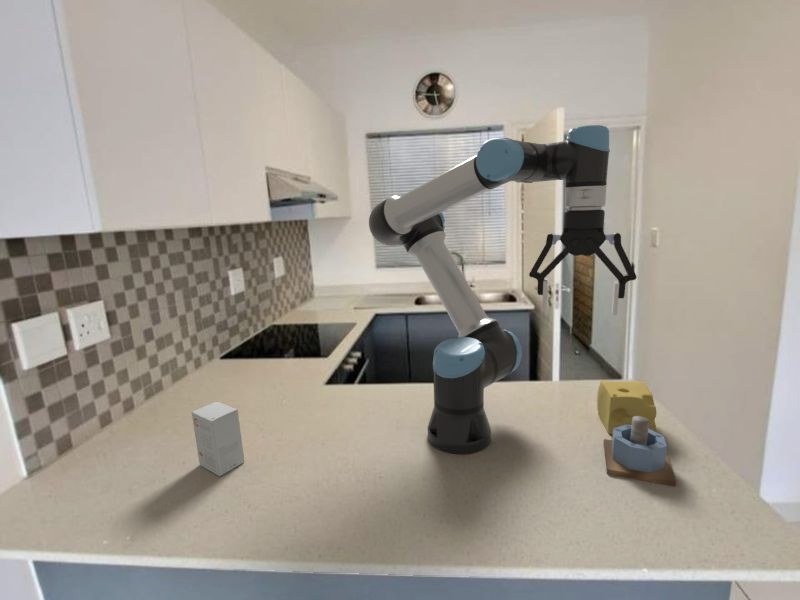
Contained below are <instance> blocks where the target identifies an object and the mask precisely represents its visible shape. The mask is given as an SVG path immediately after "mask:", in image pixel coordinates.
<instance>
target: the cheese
mask: <svg viewBox="0 0 800 600" xmlns="http://www.w3.org/2000/svg"><path fill="white" fill-rule="evenodd" d="M596 407H597V415H598V417H599V419H600V421H601V423H602V424H603V425H604V427H605V429H606V431H607V433H608V435H613V428H616V427H620V426H623V425H632V418H633V417H634V416H641V417H645V418H647V419H648V420H649V427H648V428H649V429H651V430H652V431H654V432H656V433H657V424H656V419H655V418H656V417H657V407H656V405H655V400H654V395H653V394H652V391H650V389H649V388H648V385H647V384H646V383H645V382H643V381H642V380H641V381H639V380H637V381H614V380H613V381H611V380H610V381H609V380H600V383H599V385H598V389H597V397H596Z"/></svg>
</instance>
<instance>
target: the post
mask: <svg viewBox="0 0 800 600" xmlns="http://www.w3.org/2000/svg"><path fill="white" fill-rule="evenodd" d="M648 427H649V420H648V419H647V418H645V417H641V416H634V417H633V418H632V428H631V439H630V442H632V443H633V444H639V445H645V446H647V437H648ZM603 450H604V459H605V467H606V469H605V470H606V474H608V475H613V476H619V477H624V478H630V479H636V480H641V481H646V482H651V483H656V484H657V483H658V484H661V485H662V484H663V485H667V486H674V487H676V486H677V485H676V484H677V479H676V477H675V473H674V471H673V469H672V466H671V462H670V460H669V458H668V454H667V453H666V458H665V466H664V468H663V469H660V470H657V471H655V472H652V473H648V472H643V471H637V470H631V469H628V468H626V467H625V466H623V465H622V464H620V463H618V462H617V461H615V460H614V459H613V457H612V439H606V438H605V439H603Z"/></svg>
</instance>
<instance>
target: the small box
mask: <svg viewBox="0 0 800 600" xmlns="http://www.w3.org/2000/svg"><path fill="white" fill-rule="evenodd" d="M191 417H192V423H193V424H192V425H193V430H194V437H195V443H196V451H197V456H198V463H199V466H201V467H203V468H204V469H206V470H207V471H209V472H212V473H213V474H215V475H216V476H217V477H221V476H223V475H225V474H226V473H228V472H230V471H232V470H233V469H235V468H237V467H238V466H240V465H242V464H243V463H245V455H244V449H243V441H242V433H241V425H240V419H239V410H238V409H237V408H235V407H232V406H229V405H227V404H224V403H222V402H220V401H215V402H211V403H210V404H208V405H205V406H202V407H200V408H197V409H195V410H193V411H191Z"/></svg>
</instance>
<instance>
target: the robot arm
mask: <svg viewBox="0 0 800 600" xmlns="http://www.w3.org/2000/svg"><path fill="white" fill-rule="evenodd" d="M610 152H611V151H610V130H609V128H608V127H607V126H606V125H602V124H601V125H600V124H595V125H594V124H593V125H581V126H577V127H573V128H571V129H569V131H568V132H567V137H566V140H563V141H559V142H550V143H536V142H529V141H523V140H522V141H521V140H517V139H513V138H509V137H499V138H497V137H496V138H491V139H488V140H486V141H485V142H484V143H483V144H482V146H481V147H479V149H478V151H477V154H476V155H474V156H472V157H470V158H468V159H467V160H465V161H463V162H462V163H459V164H458V165H456V166H454V167H452V168H450V169H449V170H447V171H445V172H443V173H441V174H439V175H437V176H436V177H434V178H432V179H430V180H428V181H426V182H425V183H423V184H421V185H418V187H415V188H413V189H412V190H410V191H408V192H406V193H404V194H402V195H401V196H398V195H392V196H391V197H389V198H385V200H383V201H381V202H380V203H378V204H376V205H375V206H374V207H373V209H372V210H371V212H370V214H369V218H368V227H369V231H370V232H371V235H372V236H373V238H374V239H375V240H376V241H378V242H379V243H381V244H383V245H385V246H389V247H391V246H392V247H394V246H403V247H404V249H405V251H406V253H407V254H408V256H409V257H411V258H412V257H413V258H416V259H417V260H418V263H419V265H420V266H421V268H422V270H423V272H424V273H425V275H426V277H427V279H428V280H429V282H430V284H431V286H432V288H433V289H434V291H435V293H436V295H437V297H438V298H439V300H440V301H441V304H442V306H443V307H444V309H445V310H446V312H447V314H448V316H449V318H450V319H451V321H452V323H453V325H454V326H455V328H456V331H457V332H458V337H457V338H454V337H452V338H448V339H446V340H445V339H444V340H443V341H442V342H440V343H438V344H437V346H436V347H435V348H434V351H433V360H432V369H433V370H432V372H433V373H432V374H433V376H432V377H433V378H432V379H433V404H434V405H433V409H432V413H431V415H430V418H429V421H428V424H427V439H428V441H429V443H430V444H431V445H432V446H433V447H434V448H435V449H438V450H440V451H442V452H446V453H451V454H458V455H460V454H462V455H463V454H465V455H466V454H473V453H476V452H479V451H482V450H484V449H485V448H487V447H488V446H489V444H490V443H491V441H492V429H491V426H490V423H489V419H488V416H487V413H486V410H485V408H484V406H485V405H484V403H485V401H484V398H485V393H484V392H485V388H487V387H489V386H490V385H493V384H494V383H496V382H497V381H499V380H501V379H505V378H506V377H508V376H510V374H512V372H514V371H515V370H516V369H518V367H519V366H520V363H521V361H522V354H523V352H522V350H523V349H522V345H521V343H520V341H519V338H518V337H517V336H516V335H515V334H514V333H513V332H512V331H510V330H509V331H508V330H507V329H505V328H502V327H501V325H500V324H499V322H498V320H497V319H496V318H491V317H489V316H488V315H487V314H486V312H485V310H484V308H483V307H482V305H481V304H480V302H479V300H478V298H477V296H476V294H475V293H474V291H473V289H472V288H471V285H470V284H469V283H468V281H467V279H466V278H465V276H464V274H463V272H462V271H461V269H460V268H459V266H458V263H456V260H455V259H454V257H453V255H452V254H451V252H450V250H449V248H448V247H447V245H446V243H445V239H446V232H445V227H446V225H445V223H446V220H445V216H444V214H443V212H446V211H447V210H450V209H452V208H454V207H457V206H458V205H461V204H463V203H465V202H467V201H470V200H472V199H473V198H476V197H478V196H480V195H482V194H484V193H486V192H489V191H491V190H494V189H496V188H498V187H500V186H502V185H505V184H507V183H509V182H516V183H519V184H520V183H523V184H533V183H537V182H550V181H563V180H565V185H564V187H565V188H564V208H567V209H566V210H565V212H563V227H562V233H561V234H554V233H552V232H549V233H548V234H547V235H546V240H545V245H544V247H543V249H542V250H541V252H540V254H539V256H538V258H537V259H536V261H535V263H534V265H533V266H532V268H531V269H530V271H529V274H528V275H529V277H530V278H533V279H535V280H537V295H538V296H542V307H541V311H542V312H547V309H548V288H549V287H548V286H549V285H548V282H549V279H548V278H547V276H548V275H549V274H550V273H551V272H552V271H553V270H554V269H555V268H556V267H557V266H558V265H559V264H560V263H561V262H562V261H563V259H565V258H566V257H567V256H568V255H569V254H570V255H572V256H574V257H576V256H586V257H587V256H588V257H591V256H592V255H594V254H595V255H596V256H597V257H598V258H599V260H600V261H601V262H602V264H604V266H606V267H607V269H608V270H609V271H610V272H611V274H612V275H613V276H614V277H615V278H616V279H617V280H614V281H613V291H612V305H611V313H612V316H618V307H619V306H618V304H619V299H624V298H625V293H626V284H627V283H628V282H631V281H635V280H636V279H637V274H636V272H635V270H634V268H633V266H632V264H631V262H630V260H629V258H628V256H627V254H626V252H625V248H624V247H623V246H622V236H621V233H620V232H613V233H609V234H608V233H607V234H605V232H604V230H605V215H606V214H605V209H603V208H604V207H605V206H606V200H607V198H606V197H607V184H608V183H607V180H608V168H609V157H610ZM602 207H603V208H602ZM558 241H560V242H561V244H562V246H564V247H563V249H562V250H561V251H560V252H559V253H558V254H557V255H556V257H555V258H553V259H552V260H551V262H550V263H549V264H548V265H547V266H546V267H545V268H544V269H543V270H542V271H541V272H539V269H540V268H541V266H542V264H543V262H544V261H545V258H546V257H547V255H548V253H549V252H550V250H551V248H552V245H556V244H557V242H558ZM605 241H608V243H609V244H610V245H612V246H613V247H614V250H615V251H616V253H617V255H618V257H619V259H620V261H621V263H622V266H623V267H624V270H625V272H626V274H623V273H622V272H621V271H620V269H619V268H618V267H617V266H616V265H615V264H614V263H613V261H612V260H611V259H610V258H609V257H608V256H607V255H606V253H604V251H603V249H601V246H602V245H603V244H604V243H605Z"/></svg>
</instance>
